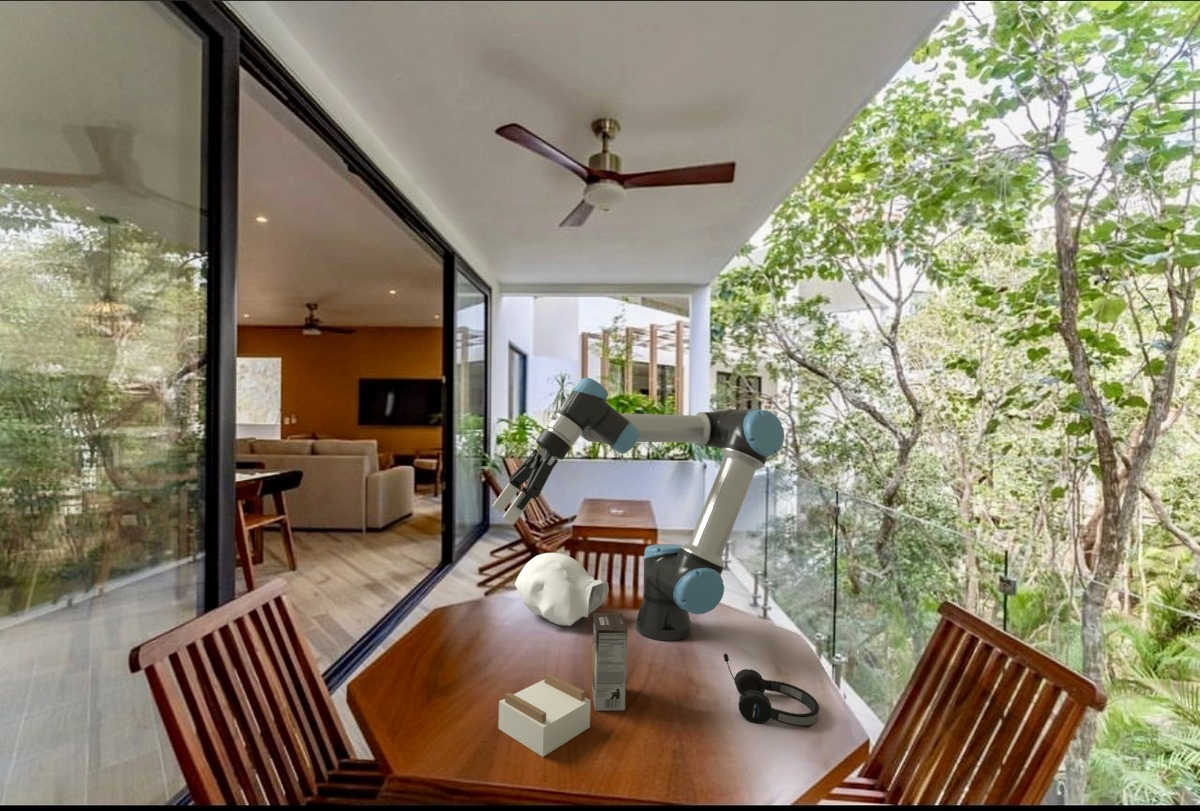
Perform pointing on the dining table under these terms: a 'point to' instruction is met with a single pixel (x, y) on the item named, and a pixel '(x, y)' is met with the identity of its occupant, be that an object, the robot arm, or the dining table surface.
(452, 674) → the dining table surface
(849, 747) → the dining table surface
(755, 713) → the headset
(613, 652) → the coffee box
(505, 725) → the plinth
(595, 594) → the head sculpture
